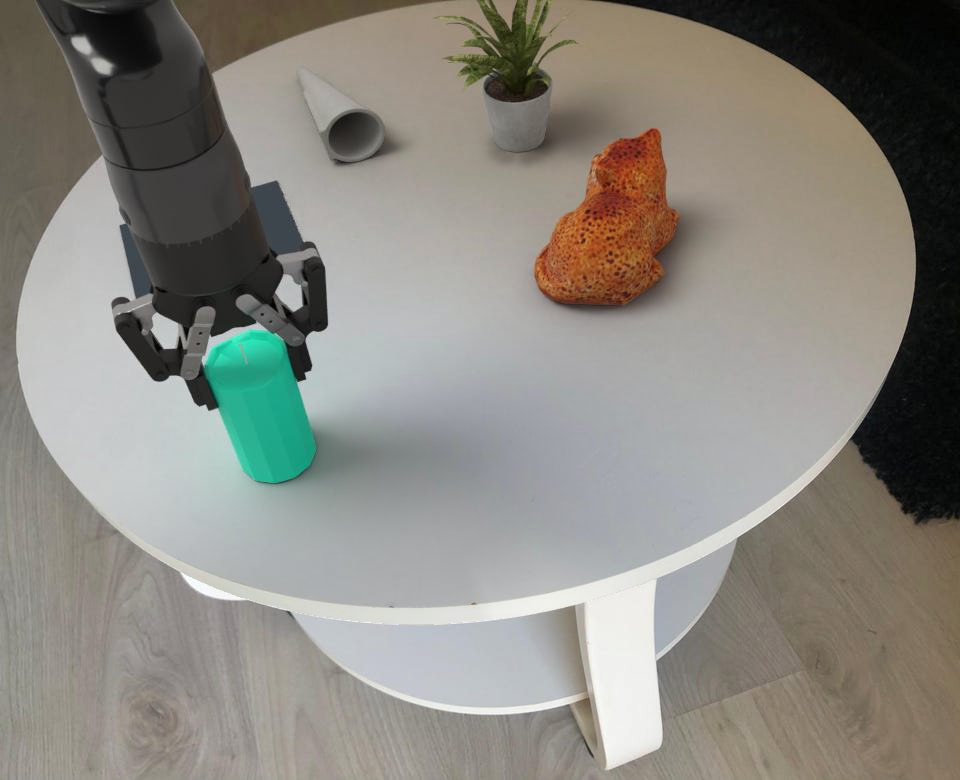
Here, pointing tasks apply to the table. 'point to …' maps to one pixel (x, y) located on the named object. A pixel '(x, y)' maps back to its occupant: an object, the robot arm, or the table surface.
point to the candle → (261, 405)
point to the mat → (272, 217)
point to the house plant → (511, 74)
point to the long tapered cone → (341, 119)
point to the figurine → (612, 229)
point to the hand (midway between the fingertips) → (255, 386)
